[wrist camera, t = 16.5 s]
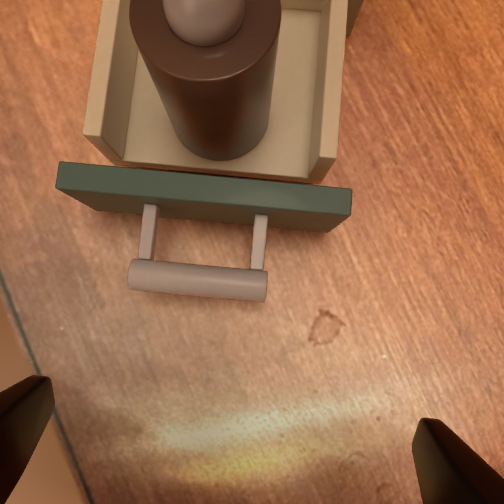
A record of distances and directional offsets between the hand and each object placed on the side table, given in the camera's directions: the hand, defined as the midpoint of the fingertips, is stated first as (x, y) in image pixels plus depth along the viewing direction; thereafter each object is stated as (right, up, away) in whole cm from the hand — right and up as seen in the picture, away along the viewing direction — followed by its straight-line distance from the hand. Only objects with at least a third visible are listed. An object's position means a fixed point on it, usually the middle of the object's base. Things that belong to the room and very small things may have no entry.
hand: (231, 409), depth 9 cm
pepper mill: (-1, +11, +10) cm, 15 cm away
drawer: (-1, +10, +11) cm, 15 cm away
